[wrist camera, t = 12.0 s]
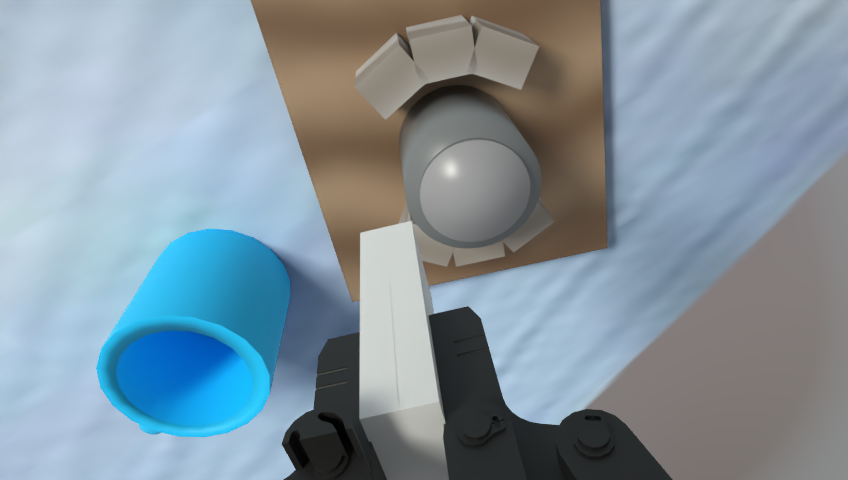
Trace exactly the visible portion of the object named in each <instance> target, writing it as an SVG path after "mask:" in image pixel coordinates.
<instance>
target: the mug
mask: <svg viewBox="0 0 848 480" xmlns="http://www.w3.org/2000/svg"><path fill="white" fill-rule="evenodd" d="M289 301H290V280H289V277H288V274H287V272H286V269H285V266H284V264H283V263H282V262H281V261H280V260H279V258H278V257H277V256H276V255H275V254H274V252H273V251H272V250H271V249H269V248H268V247H266V246H265V245H264V244H262V243H261V242H259V241H258V240H256V239H255V238H253V237H250V236H247V235H244V234H241V233H238V232H235V231H232V230H219V229H206V230H201V231H196V232H191V233H187V234H185V235H184V236H182V237H180V238H178V239H176V240H175V241H173V242H171V243H170V244H169V245H168V246H167V248H166V249H165V250H164V251H163V252H162V254H161V255H160V256H159V257H158V259H157V261H156V262H155V264H154V265H153V267H152V269H151V270H150V272H149V273H148V275H147V277H146V278H145V280H144V281H143V283H142V285H141V286H140V288H139V289H138V291H137V293H136V294H135V296H134V297H133V299H132V301H131V302H130V304H129V305H128V307H127V309H126V310H125V312H124V313H123V315H122V317H121V318H120V320H119V321H118V323H117V325H116V326H115V328H114V329H113V331H112V333H111V334H110V336H109V337H108V339H107V341H106V342H105V344H104V345H103V347H102V349H101V352H100V356H99V360H98V364H97V368H96V369H97V373H98V378H99V382H100V387H101V389H102V390H103V392H104V393H105V395H106V396H107V398H108V399H109V401H110V402H111V403H112V405H113V406H114V407H116V408H117V409H118V410H119V411H121V412H122V413H123V414H124V415H126V416H127V417H128V418H129V419H131V420H132V421H134V422H136V423H139V427H140V428H141V430H142V431H144V432H146V433H148V434H159V433H161V432H162V433H166V434H171V435H175V436H181V437H207V436H213V435H218V434H223V433H228V432H230V431H232V430H234V429H237V428H239V427H241V426H243V425H245V424H247V423H249V422H250V421H251V420H252V419H253V418H254V417H255V416H256V415H257V414H258V413H259V412H260V411H261V410H262V409H263V407H264V405H265V403H266V400H267V398H268V396H269V394H270V390H271V385H272V381H273V376H274V371H275V366H276V362H277V357H278V352H279V348H280V343H281V338H282V334H283V329H284V324H285V319H286V315H287V310H288V305H289Z"/></svg>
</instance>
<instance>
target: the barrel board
mask: <svg viewBox="0 0 848 480" xmlns="http://www.w3.org/2000/svg"><path fill="white" fill-rule="evenodd" d="M251 2H252V5H253V8H254V11H255V14H256V17H257V20H258V23H259V26H260V29H261V32H262V35H263V38H264V41H265V44H266V47H267V50H268V53H269V56H270V59H271V62H272V65H273V68H274V71H275V74H276V77H277V79H278V82H279V85H280V88H281V91H282V94H283V97H284V100H285V103H286V106H287V109H288V112H289V115H290V118H291V121H292V124H293V127H294V130H295V133H296V136H297V139H298V142H299V145H300V148H301V151H302V154H303V157H304V160H305V163H306V166H307V169H308V171H309V174H310V177H311V180H312V183H313V186H314V189H315V192H316V195H317V198H318V201H319V204H320V207H321V210H322V213H323V216H324V219H325V222H326V225H327V228H328V231H329V234H330V237H331V240H332V243H333V246H334V249H335V252H336V255H337V258H338V261H339V263H340V266H341V269H342V272H343V275H344V278H345V281H346V284H347V287H348V290H349V293H350V296H351V299H352V302H355V301H359V300H360V233H361V232H366V231H370V230H374V229H378V228H383V227H387V226H391V225H396V224H400V223H404V222H409V221H412V224H413V228H414V232H415V236H416V240H417V243H418V247H419V251H420V255H421V259H422V263H423V266H424V270H425V274H426V278H427V282H428V286H430V285H435V284H439V283H444V282H449V281H453V280H458V279H463V278H468V277H472V276H477V275H482V274H486V273H491V272H496V271H500V270H505V269H510V268H515V267H519V266H524V265H529V264H533V263H538V262H543V261H548V260H552V259H557V258H562V257H566V256H571V255H576V254H580V253H585V252H590V251H595V250H599V249H604V248H607V214H606V179H605V145H604V110H603V76H602V41H601V7H600V0H251ZM451 85H465V86H471V87H475V88H478V89H480V90H483V91H484V92H486V93H488V94H489V95H491V96H492V97H493V98H495V99H496V100H497V101H498V103H499V104H500V105H501V106H502V108H503V109H504V111H505V112H506V113H507V115H508V116H509V118H510V119H511V121H512V122H513V123H514V125H515V126H516V128H517V129H518V131H519V132H520V134H521V135H522V136H523V138H524V139H525V141H526V142H527V144H528V145H529V146H530V148H531V149H532V151H533V152H534V154H535V156H536V158H537V160H538V163H539V166H540V171H541V191H540V195H539V199H538V202H537V204H536V207H535V209H534V210H533V212H532V214H531V215H530V217H529V218H528V220H527V221H526V222H525V223H524V224H523V225H522V226H521V227H520V228H519V229H518V230H517V231H516V232H514V233H513V234H512V235H510V236H509V237H507V238H505V239H503V240H502V241H500V242H497V243H495V244H492V245H488V246H485V247H480V248H469V249H466V248H456V247H451V246H447V245H444V244H442V243H439V242H437V241H435V240H434V239H432V238H430V237H429V236H428V235H426V234H425V233H424V232H423V231H422V230H421V229H420V228H419V227H418V226H417V224H416V223H415V221H414V220H413V218H412V216H411V214H410V212H409V209H408V206H407V201H406V194H405V187H404V179H403V172H402V164H401V157H400V149H399V135H400V130H401V126H402V123H403V121H404V119H405V117H406V115H407V113H408V112H409V110H410V109H411V108H412V106H413V105H414V104H415V103H416V102H417V101H418V100H419V99H421V98H422V97H423V96H425V95H426V94H428V93H430V92H432V91H434V90H436V89H439V88H442V87H445V86H451Z"/></svg>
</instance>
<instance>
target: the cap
mask: <svg viewBox="0 0 848 480" xmlns="http://www.w3.org/2000/svg"><path fill="white" fill-rule="evenodd" d="M399 149H400V157H401V164H402V172H403V179H404V187H405V194H406V201H407V206H408V209H409V212H410V214H411V216H412V218H413V220H414V221H415V223H416V224H417V226H418V227H419V228H420V229H421V230H422V231H423V232H424V233H425V234H426V235H428V236H429V237H430V238H432V239H434V240H435V241H437V242H439V243H442V244H444V245H447V246H451V247H456V248H466V249H469V248H480V247H485V246H488V245H492V244H495V243H497V242H500V241H502V240H503V239H505V238H507V237H509V236H510V235H512V234H513V233H514V232H516V231H517V230H518V229H519V228H520V227H521V226H522V225H523V224H524V223H525V222H526V221H527V220H528V218H529V217H530V215H531V214H532V212H533V210H534V209H535V207H536V204H537V202H538V199H539V195H540V191H541V171H540V166H539V163H538V160H537V158H536V156H535V154H534V152H533V151H532V149H531V148H530V146H529V145H528V144H527V142H526V141H525V139H524V138H523V136H522V135H521V134H520V132H519V131H518V129H517V128H516V126H515V125H514V123H513V122H512V121H511V119H510V118H509V116H508V115H507V113H506V112H505V111H504V109H503V108H502V106H501V105H500V104H499V103H498V101H497V100H496V99H495V98H493V97H492V96H491V95H489V94H488V93H486V92H484V91H483V90H480V89H478V88H475V87H471V86H465V85H451V86H445V87H442V88H439V89H436V90H434V91H432V92H430V93H428V94H426V95H425V96H423V97H422V98H421V99H419V100H418V101H417V102H416V103H415V104H414V105H413V106H412V108H411V109H410V110H409V112H408V113H407V115H406V117H405V119H404V121H403V123H402V126H401V130H400V135H399Z"/></svg>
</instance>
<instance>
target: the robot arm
mask: <svg viewBox="0 0 848 480" xmlns="http://www.w3.org/2000/svg"><path fill="white" fill-rule="evenodd" d="M317 375H318V377H317V379H316V391H315V400H314V410H311V411H309V412H306V413H305V414H303V415H302V416H301V417H299V418H298V419H297V420H295V421H294V422H293V424H292V425H291V426H290V427H289V429H288V430H287V431H286V433H285V436H284V439H283V442H282V445H283V447H284V449H285V451H286V453H287V454H288V456H289V458H290V460H291V461H292V463H293V465H294V467H295V469H296V470H295V471H294V472H293V473H292V474H291V475H290V476H288V477H287V478H285V479H284V480H672V479H671V477H670V476H669V475H668V474H667V473H666V472H665V470H664V469H663V468H662V467H661V465H660V464H659V463H658V462H657V461H656V460H655V458H654V457H653V456H652V455H651V454H650V453H649V451H648V450H647V449H646V448H645V447H644V445H643V444H642V443H641V442H640V441H639V439H638V438H637V437H636V436H635V435H634V434H633V432H632V431H631V430H630V429H629V428H628V426H627V425H626V424H625V423H623V422H622V421H621V420H620V419H618V418H617V417H616V416H615V415H612V414H610V413H607V412H604V411H602V410H591V409H585V410H581V411H578V412H574V413H572V414H570V415H569V416H568V417H566V418H565V419H563V420H562V422H561V424H560V425H550V424H539V423H533V422H529V421H526V420H524V419H522V418H520V417H518V416H517V415H515V414H514V413H512V412H511V410H510V409H509V408H508V407H507V406H506V404H505V402H504V399H503V397H502V393H501V390H500V386H499V382H498V379H497V375H496V372H495V368H494V365H493V361H492V357H491V354H490V351H489V347H488V343H487V340H486V336H485V332H484V329H483V325H482V322H481V318H480V317H479V316H478V315H477V314H476V313H475V312H474V311H473V310H472V309H470V308H469V307H463V308H459V309H454V310H450V311H445V312H441V313H437V314H434V310H433V304H432V298H431V293H430V289H429V286H428V282H427V278H426V274H425V270H424V266H423V263H422V259H421V255H420V251H419V247H418V243H417V240H416V236H415V232H414V228H413V224H412V221H409V222H404V223H400V224H396V225H391V226H387V227H383V228H378V229H374V230H370V231H366V232H361V233H360V332H359V333H354V334H350V335H345V336H341V337H337V338H332V339H328V341H327V342H326V344H325V346H324V348H323V349H322V351H321V353H320V355H319V358H318V368H317Z"/></svg>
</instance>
